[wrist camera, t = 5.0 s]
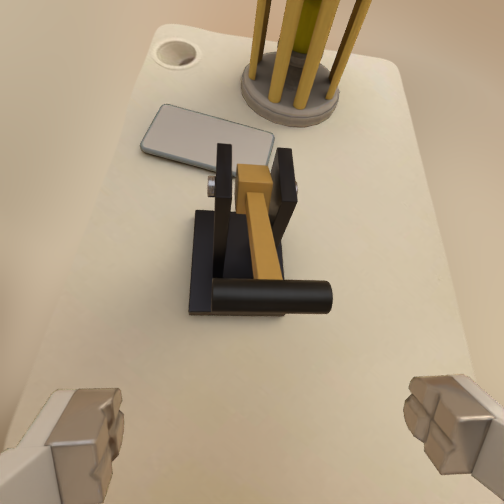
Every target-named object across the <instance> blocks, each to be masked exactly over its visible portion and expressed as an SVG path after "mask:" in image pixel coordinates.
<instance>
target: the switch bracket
mask: <svg viewBox="0 0 504 504" xmlns="http://www.w3.org/2000/svg"><path fill="white" fill-rule="evenodd" d="M270 175H271V178H272V181H273V188H272V194H271V200H270V206H269V213H268V216H269V221H270V225H271V229H272V234H273V238H274V243H275V247H276V252H277V256H278V260H279V265H280V269H281V274H282V278H283V280H284V271H283V258H282V245H281V239H282V236H283V234H284V232H285V230H286V227H287V225H288V223H289V220H290V218H291V216H292V213H293V211H294V209H295V206H296V204H297V202H298V201H297V193H298V185H297V182H296V181H295V174H294V166H293V157H292V149H291V148H277V150H276V154H275V158H274V162H273V165H272V169H271V173H270ZM208 197H215V211H208V210H196V211H195V225H194V239H193V254H192V268H191V283H190V298H189V315H233V316H284V315H285V314H275V313H212V312H211V299H212V279H213V278H235V279H254V276H253V268H252V259H251V251H250V243H249V234H248V226H247V218H246V214H237V213H236V212H230V211H231V202H232V144H225V143H217V156H216V176H208Z"/></svg>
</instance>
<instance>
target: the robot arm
mask: <svg viewBox="0 0 504 504" xmlns="http://www.w3.org/2000/svg"><path fill="white" fill-rule="evenodd" d="M409 390H410V392H411V395H410V396H409V397H408V398H407V399H406V400H405V404H404V408H403V412H404V418H405V422H406V424H407V426H408V428H409V430H410V431H411V433H412V434H413V436H414V437H416V438H417V439H419V440H420V441H422V442H423V443H424V452H425V453H426V454H427V456H428V457H429V459H430V460H431V462H432V463H433V464H434V466H435V467H436V469H437V470H438V471H439V473H440V474H441V475H450V474H471V473H472V475H471V476H473V477H474V478H475V479H477V480H478V481H479V482H480V483H482V484H483V485H484V486H485V487H487V488H488V489H489V490H491V491H492V492H493V493H494V494H496V495H497V496H498V497H499V498H501V499H502V500H503V501H504V407H503V406H501V405H500V404H499V403H498V402H497V401H496V400H494V399H493V398H492V397H491V396H490V395H489V394H488V393H487V392H485V391H484V390H483V389H482V388H481V387H480V386H479V385H478V384H477V383H475V382H474V381H473V380H472V379H471V378H470V377H468V376H466V375H464V374H454V375H441V376H419V377H413V379H412V380H411V381H410V384H409ZM121 403H122V393H121V390H120V389H119V388H89V389H57V390H56V391H54V392H53V393H52V394H51V395H50V397H49V398H48V400H47V401H46V403H45V404H44V406H43V407H42V409H41V410H40V412H39V413H38V415H37V416H36V418H35V419H34V421H33V422H32V424H31V425H30V427H29V428H28V430H27V431H26V432H25V434H24V435H23V437H22V438H21V440H20V441H19V443H18V444H17V446H16V447H15V448H8V449H6V450H5V451H3V452H2V453H0V504H102V503H104V500H105V497H106V493H107V490H108V487H109V484H110V481H111V478H112V474H113V471H112V461H113V460H114V459H115V458H116V457H117V456H118V455H119V452H120V448H121V445H122V440H123V434H124V414H123V413H122V412H121V411H120V410H119V409H120V406H121Z"/></svg>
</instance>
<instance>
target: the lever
mask: <svg viewBox="0 0 504 504" xmlns="http://www.w3.org/2000/svg"><path fill="white" fill-rule="evenodd" d="M272 188H273V181H272V178H271V175H270V171H269V168H268V166H266V165H252V164H237V167H236V180H235V193H234V194H235V209H236V213H237V214H246V218H247V226H248V234H249V243H250V251H251V259H252V268H253V276H254V279H235V278H213V279H212V299H211V312H212V313H275V314H328V313H329V312H330V310H331V308H332V302H333V294H332V288H331V285H330V283H329V282H328V281H318V280H283V278H282V274H281V269H280V265H279V260H278V256H277V252H276V247H275V243H274V238H273V234H272V229H271V225H270V221H269V216H268V213H269V206H270V200H271V194H272Z"/></svg>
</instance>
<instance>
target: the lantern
mask: <svg viewBox="0 0 504 504" xmlns="http://www.w3.org/2000/svg"><path fill="white" fill-rule="evenodd" d="M371 1H372V0H356V3H355V5H354V8H353V11H352V14H351V16H350V19H349V22H348V25H347V28H346V30H345V33H344V36H343V38H342V41H341V44H340V47H339V49H338V52H337V55H336V58H335V60H334V63H333V66H332V69H331V71H329V70H328V69H327V68H326V67H324V66H323V65H322V64H320V60H321V58H322V55H323V52H324V48H325V44H326V42H327V39H328V36H329V33H330V30H331V26H332V23H333V20H334V17H335V14H336V11H337V8H338V5H339V2H340V0H287V2H286V7H285V12H284V18H283V23H282V28H281V33H280V38H279V41H278V46H277V47H278V49H277V52H270V53H266V54H263V51H264V45H265V38H266V32H267V25H268V18H269V12H270V6H271V0H258V1H257V10H256V18H255V26H254V34H253V42H252V51H251V59H250V63H249V64H248V65H247V66H246V67H245V70H244V72H243V75H242V80H241V89H242V95H243V97H244V99H245V101H246V102H247V104H248V106H250V107H251V108H252V109H253V110H254V111H255V112H256V113H257V114H259V115H260V116H262V117H264V118H266V119H268V120H270V121H272V122H274V123H278V124H282V125H286V126H294V127H306V126H311V125H316V124H319V123H321V122H323V121H324V120H326V119H328V118H329V117H330V115H331V114H332V113H333V111H334V110H335V108H336V105H337V103H338V99H339V89H338V84H339V81H340V79H341V76H342V74H343V71H344V69H345V66H346V64H347V61H348V59H349V56H350V54H351V51H352V49H353V46H354V44H355V41H356V39H357V36H358V34H359V31H360V29H361V26H362V23H363V21H364V19H365V16H366V14H367V11H368V8H369V6H370V4H371Z"/></svg>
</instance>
